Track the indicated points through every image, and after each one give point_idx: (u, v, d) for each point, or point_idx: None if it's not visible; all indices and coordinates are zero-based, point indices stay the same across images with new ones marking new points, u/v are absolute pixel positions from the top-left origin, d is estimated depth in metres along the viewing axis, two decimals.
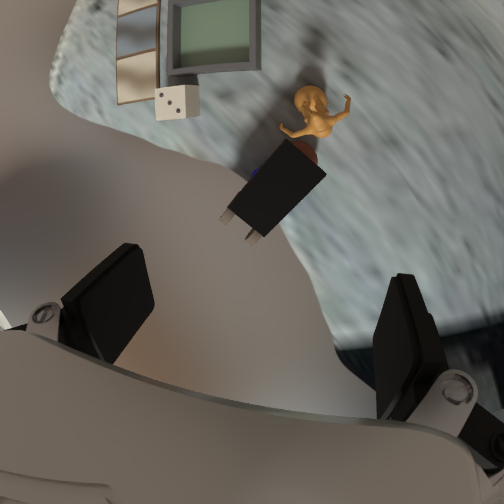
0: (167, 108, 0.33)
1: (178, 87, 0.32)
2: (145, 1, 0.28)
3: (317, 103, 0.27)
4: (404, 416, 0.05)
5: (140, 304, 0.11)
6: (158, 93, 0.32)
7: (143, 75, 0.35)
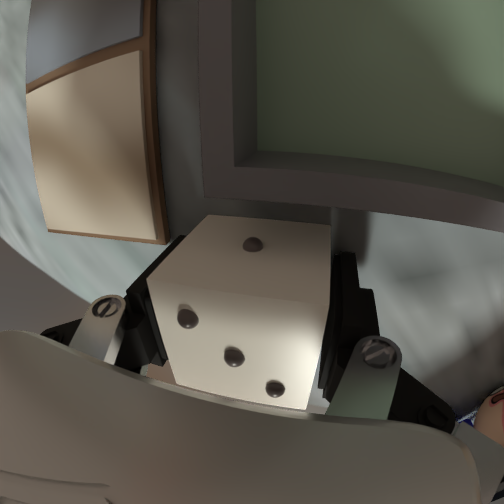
0: (224, 370, 0.08)
1: (287, 309, 0.06)
2: None
3: None
4: (331, 380, 0.07)
5: None
6: (170, 304, 0.07)
7: (100, 151, 0.10)
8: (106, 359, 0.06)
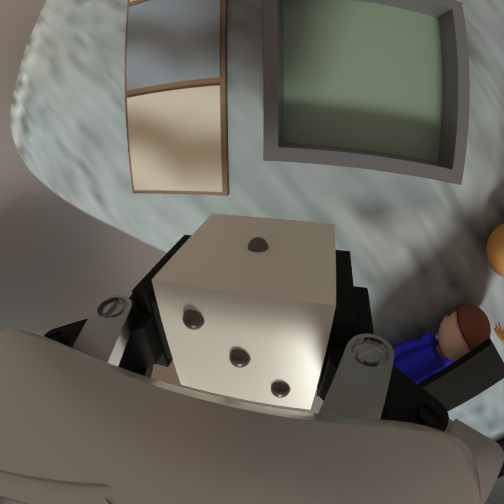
0: (229, 371, 0.08)
1: (294, 310, 0.06)
2: None
3: None
4: (324, 377, 0.07)
5: None
6: (175, 305, 0.07)
7: (190, 139, 0.19)
8: (110, 360, 0.06)
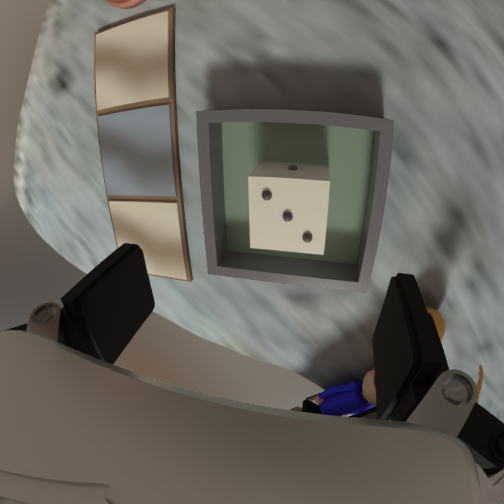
0: (280, 228, 0.17)
1: (312, 184, 0.15)
2: (145, 88, 0.19)
3: None
4: (404, 416, 0.05)
5: (140, 304, 0.11)
6: (258, 188, 0.16)
7: (159, 241, 0.25)
8: None
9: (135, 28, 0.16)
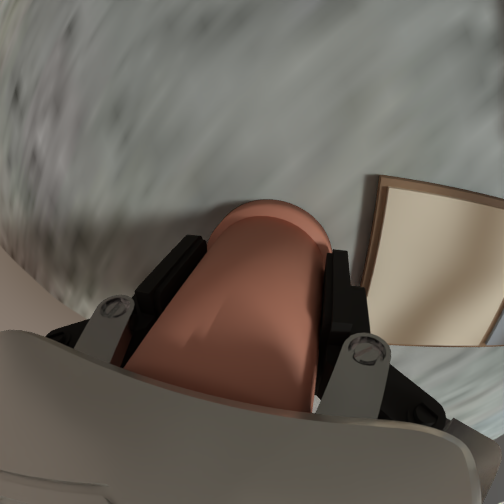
0: None
1: None
2: (503, 257, 0.09)
3: None
4: (321, 376, 0.07)
5: None
6: None
7: None
8: (112, 361, 0.06)
9: (395, 263, 0.11)
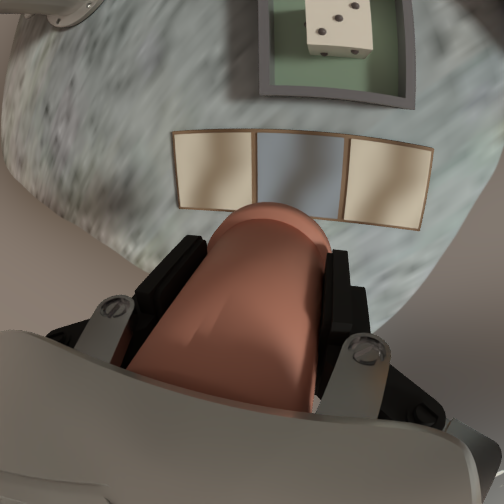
0: (350, 23, 0.14)
1: (309, 1, 0.14)
2: (240, 156, 0.25)
3: None
4: (321, 376, 0.07)
5: None
6: (317, 37, 0.15)
7: (390, 169, 0.22)
8: (112, 361, 0.06)
9: (184, 164, 0.27)
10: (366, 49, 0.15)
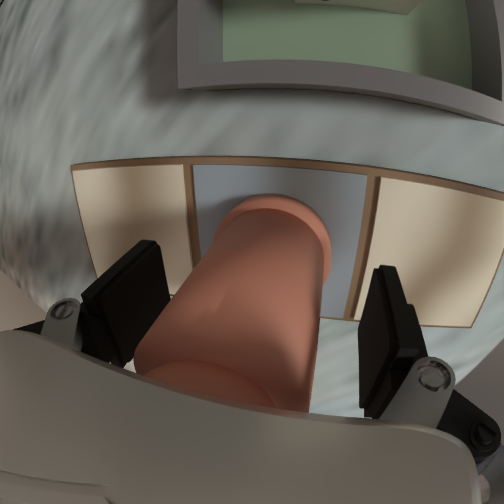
0: None
1: None
2: (168, 207, 0.14)
3: None
4: (382, 402, 0.06)
5: (157, 300, 0.11)
6: None
7: (447, 236, 0.11)
8: None
9: (90, 218, 0.15)
10: None
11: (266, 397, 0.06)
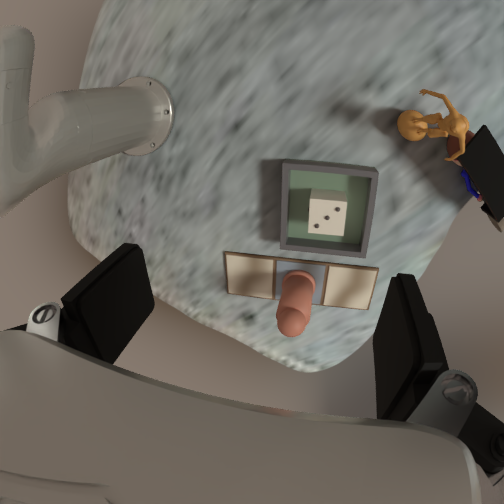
0: (333, 221, 0.35)
1: (311, 205, 0.34)
2: (266, 270, 0.46)
3: (429, 121, 0.24)
4: (404, 416, 0.05)
5: (140, 304, 0.11)
6: (313, 229, 0.36)
7: (350, 281, 0.43)
8: None
9: (232, 271, 0.47)
10: None
11: (303, 313, 0.37)
